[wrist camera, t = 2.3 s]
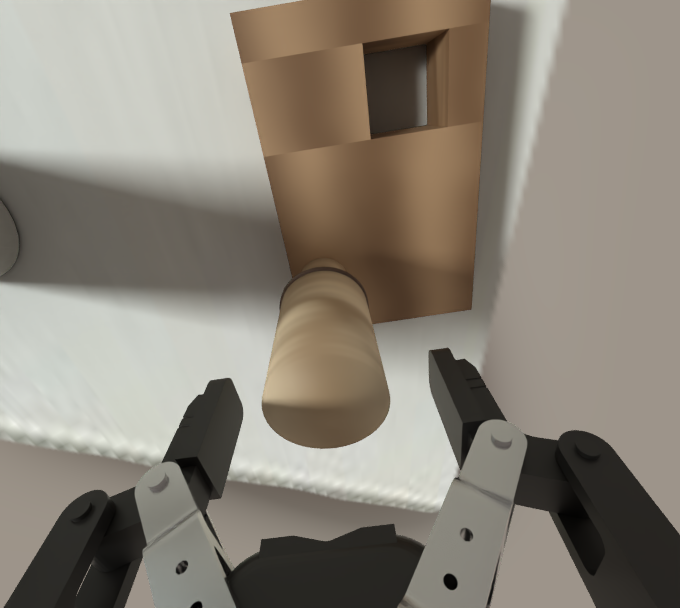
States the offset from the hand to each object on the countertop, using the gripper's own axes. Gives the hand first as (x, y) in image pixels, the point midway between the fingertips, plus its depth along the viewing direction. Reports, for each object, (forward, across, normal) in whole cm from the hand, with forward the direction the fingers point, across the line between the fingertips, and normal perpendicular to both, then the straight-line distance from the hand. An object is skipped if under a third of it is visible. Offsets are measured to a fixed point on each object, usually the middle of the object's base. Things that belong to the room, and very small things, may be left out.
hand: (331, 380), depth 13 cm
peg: (+10, 0, 0) cm, 10 cm away
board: (+14, -4, -5) cm, 15 cm away
